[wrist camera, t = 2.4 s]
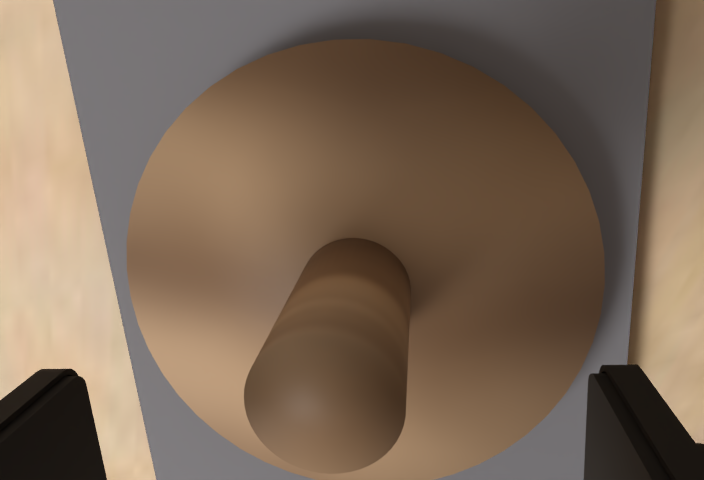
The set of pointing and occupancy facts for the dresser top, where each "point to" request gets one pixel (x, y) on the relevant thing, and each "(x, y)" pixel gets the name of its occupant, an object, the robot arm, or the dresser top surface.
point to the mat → (387, 25)
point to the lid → (365, 262)
